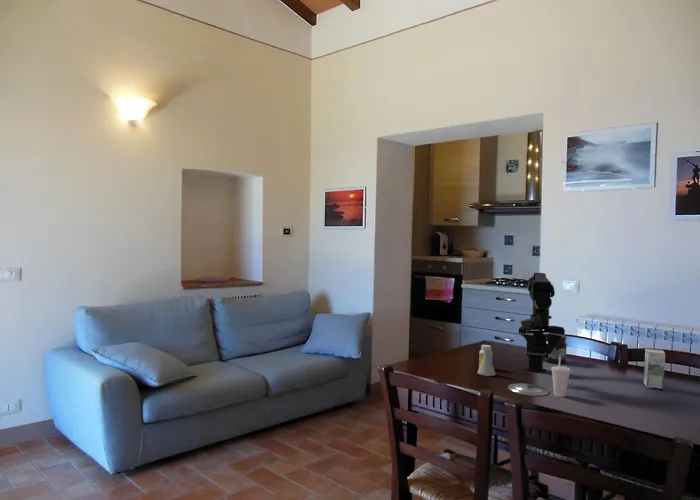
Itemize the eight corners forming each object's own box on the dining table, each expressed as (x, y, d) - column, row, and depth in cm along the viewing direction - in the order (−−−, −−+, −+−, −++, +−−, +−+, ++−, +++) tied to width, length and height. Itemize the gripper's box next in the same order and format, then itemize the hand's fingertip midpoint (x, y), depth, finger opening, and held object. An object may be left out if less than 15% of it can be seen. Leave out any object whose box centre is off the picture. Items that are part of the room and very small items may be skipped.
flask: (496, 377, 204) (497, 352, 204) (477, 375, 205) (478, 350, 205) (494, 372, 211) (495, 348, 211) (476, 371, 212) (477, 347, 212)
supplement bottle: (491, 370, 214) (492, 347, 214) (477, 368, 216) (478, 346, 216) (492, 367, 219) (493, 345, 219) (479, 366, 221) (480, 343, 221)
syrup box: (659, 386, 200) (661, 349, 199) (663, 390, 194) (665, 352, 194) (643, 384, 202) (645, 347, 201) (646, 388, 196) (648, 350, 196)
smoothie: (546, 392, 186) (548, 354, 185) (563, 392, 186) (565, 354, 186) (555, 398, 179) (557, 358, 179) (572, 398, 180) (574, 358, 179)
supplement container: (544, 357, 243) (546, 332, 243) (568, 361, 237) (569, 335, 237) (538, 361, 235) (539, 335, 234) (562, 365, 228) (564, 338, 228)
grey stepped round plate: (521, 382, 197) (521, 379, 197) (555, 391, 187) (555, 389, 187) (500, 388, 188) (500, 385, 188) (535, 398, 178) (535, 395, 178)
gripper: (508, 311, 205) (506, 350, 202) (543, 308, 188) (542, 351, 185) (530, 314, 209) (528, 353, 206) (566, 312, 193) (565, 354, 189)
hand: (540, 353), depth 196 cm, fingers open, 9 cm apart
